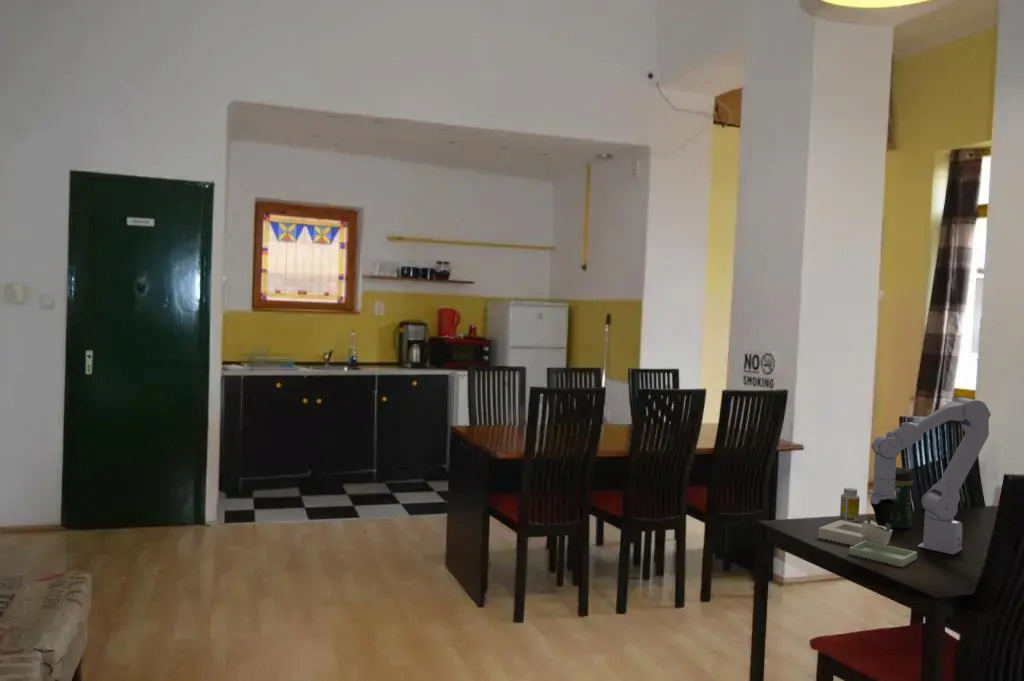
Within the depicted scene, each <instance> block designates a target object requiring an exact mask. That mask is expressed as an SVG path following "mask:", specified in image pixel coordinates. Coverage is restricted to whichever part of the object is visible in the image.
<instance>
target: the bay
mask: <svg viewBox="0 0 1024 681" xmlns="http://www.w3.org/2000/svg"><path fill="white" fill-rule="evenodd" d="M862 525H863V523H856V522H848V521H844V520H842V519H839V520H836V521H833V522H832V523H831V522H830V523H828V524H825V525H823V526H820V527H818V539H821V538H822V540H825V539H827V540H826V541H830V540H832V541H831V542H834V541H836V542H835V543H839V542H840V543H839V544H843V543H844V544H845V545H847V544H849V546H852V545H856V544H858V543H861V542H863V541H868V540H867V535H866V534H861V533H860V531H861V528H862Z"/></svg>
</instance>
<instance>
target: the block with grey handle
mask: <svg viewBox="0 0 1024 681" xmlns="http://www.w3.org/2000/svg"><path fill="white" fill-rule="evenodd" d="M862 524H863V525H862V528H861V531H860V533H861V534H866V535H867V541H870V542H874V543H879V544H883V545H887V544H888V545H889V543H890V539H891V536H892V533H893V531H894V530H893V529H891V528H892V527H891V525H890V524H889V523H887V522H886V525H885V526H880V525H877V522H876V517H875V516H873V515H871V514H870V515H868V517H867V520H864V521H863V522H862Z"/></svg>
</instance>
